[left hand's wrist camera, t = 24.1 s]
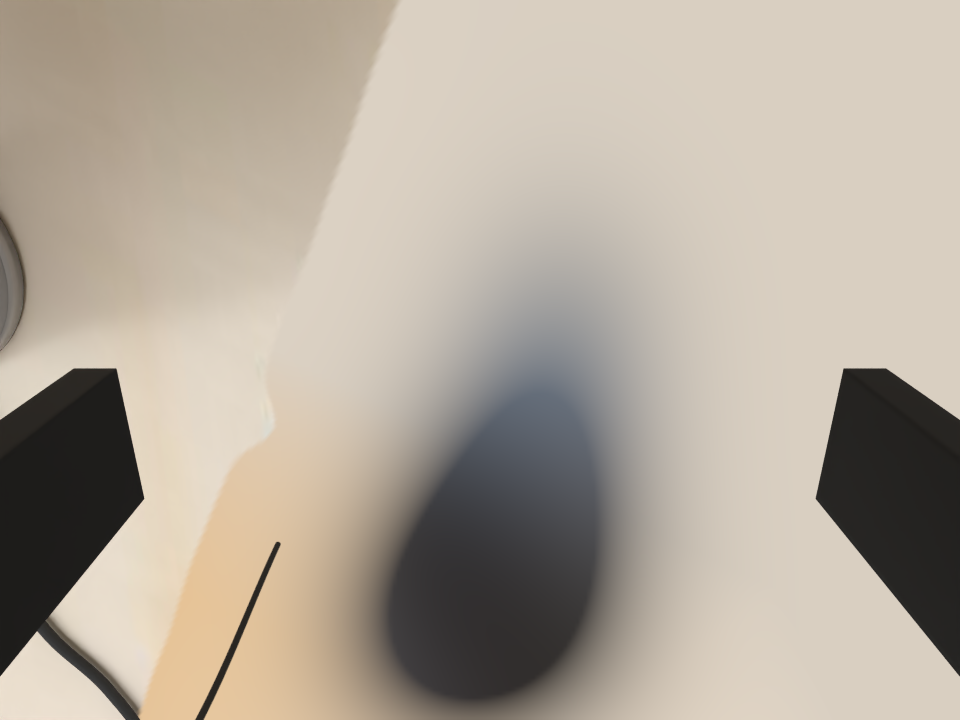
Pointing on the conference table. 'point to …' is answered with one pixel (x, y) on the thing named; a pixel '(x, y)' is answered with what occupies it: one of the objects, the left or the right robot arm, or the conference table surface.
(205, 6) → the conference table surface
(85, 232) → the conference table surface
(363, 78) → the conference table surface
